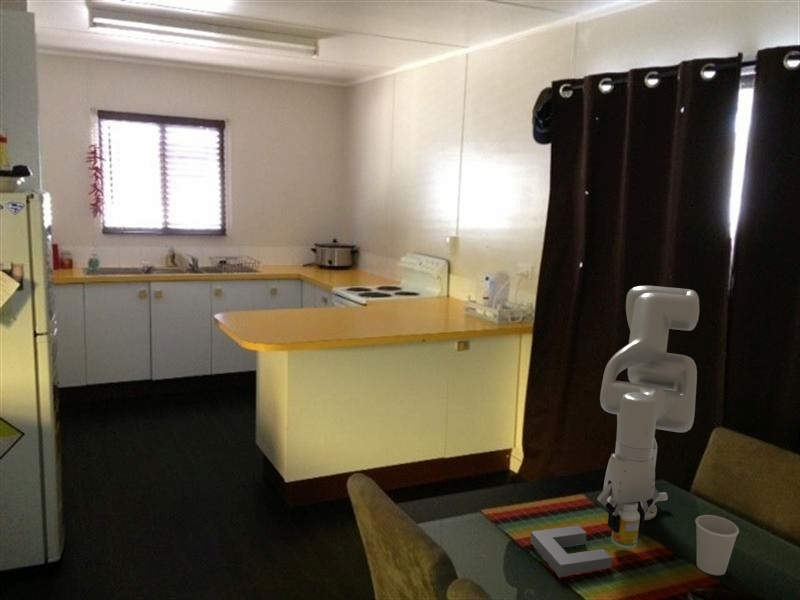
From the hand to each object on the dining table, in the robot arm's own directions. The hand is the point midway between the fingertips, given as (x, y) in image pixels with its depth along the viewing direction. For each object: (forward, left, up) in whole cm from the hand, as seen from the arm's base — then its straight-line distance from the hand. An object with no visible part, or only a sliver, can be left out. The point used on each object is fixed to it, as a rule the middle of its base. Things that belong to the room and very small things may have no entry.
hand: (625, 527), depth 146 cm
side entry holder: (+13, 0, -5) cm, 14 cm away
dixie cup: (-15, +10, -6) cm, 19 cm away
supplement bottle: (0, 0, -4) cm, 4 cm away
